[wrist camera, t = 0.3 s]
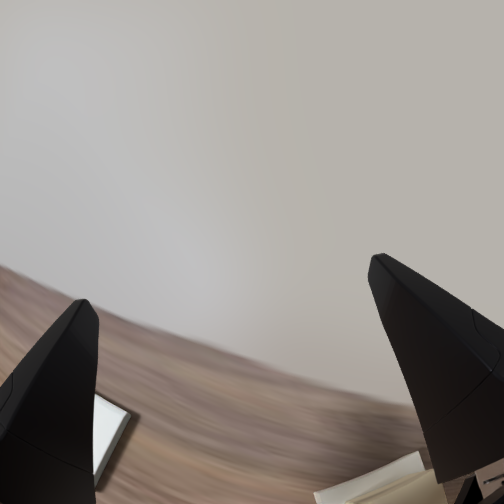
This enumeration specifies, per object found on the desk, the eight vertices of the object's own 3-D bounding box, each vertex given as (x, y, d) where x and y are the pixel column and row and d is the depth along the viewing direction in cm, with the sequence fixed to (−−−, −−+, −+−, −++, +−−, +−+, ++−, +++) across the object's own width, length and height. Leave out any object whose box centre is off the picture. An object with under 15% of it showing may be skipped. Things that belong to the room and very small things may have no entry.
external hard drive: (96, 492, 13) (7, 415, 16) (134, 416, 19) (42, 357, 22) (86, 491, 12) (-3, 409, 15) (126, 411, 18) (33, 349, 21)
